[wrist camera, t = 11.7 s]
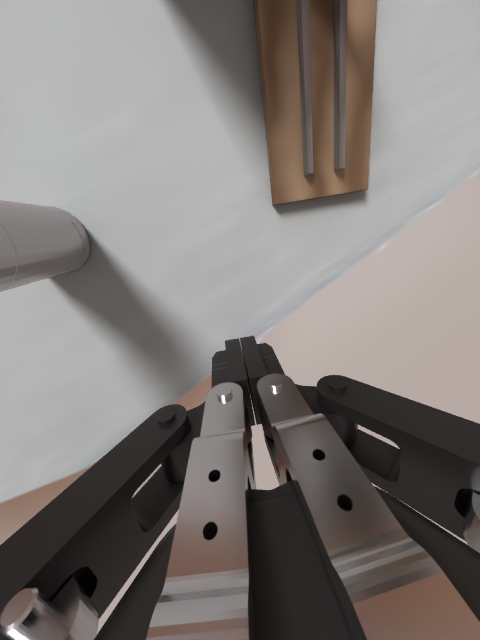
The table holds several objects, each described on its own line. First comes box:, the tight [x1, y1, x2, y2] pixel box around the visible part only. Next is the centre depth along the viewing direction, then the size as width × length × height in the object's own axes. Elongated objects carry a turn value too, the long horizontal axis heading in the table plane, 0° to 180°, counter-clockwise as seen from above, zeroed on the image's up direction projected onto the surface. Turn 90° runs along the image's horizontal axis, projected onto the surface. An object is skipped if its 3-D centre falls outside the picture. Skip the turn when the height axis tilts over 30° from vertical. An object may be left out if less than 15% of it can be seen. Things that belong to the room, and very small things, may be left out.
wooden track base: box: [254, 0, 377, 205], centre depth 28 cm, size 14×34×4 cm, turn 9°
